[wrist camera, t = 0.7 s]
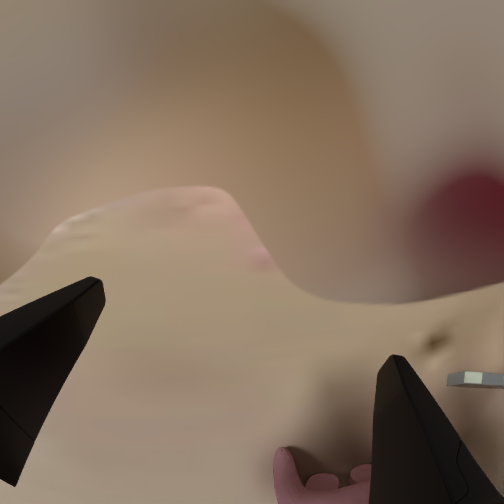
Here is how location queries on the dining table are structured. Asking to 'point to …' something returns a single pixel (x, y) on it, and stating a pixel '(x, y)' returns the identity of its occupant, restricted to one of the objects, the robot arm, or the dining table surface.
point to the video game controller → (318, 484)
